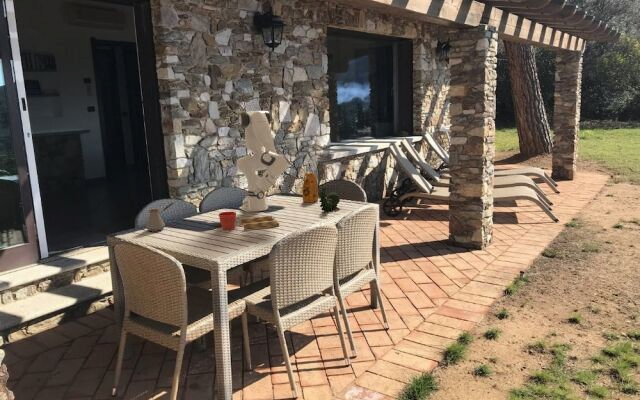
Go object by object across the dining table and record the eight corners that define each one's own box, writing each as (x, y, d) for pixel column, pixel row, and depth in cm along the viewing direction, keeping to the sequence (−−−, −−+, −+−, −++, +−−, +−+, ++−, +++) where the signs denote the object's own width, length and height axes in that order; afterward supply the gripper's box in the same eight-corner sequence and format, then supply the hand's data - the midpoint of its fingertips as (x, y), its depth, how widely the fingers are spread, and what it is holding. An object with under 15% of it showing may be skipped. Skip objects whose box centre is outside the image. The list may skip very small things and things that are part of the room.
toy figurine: (329, 215, 336) (344, 205, 358) (327, 188, 331) (342, 179, 352) (317, 215, 341) (332, 204, 362) (314, 188, 335) (330, 179, 357)
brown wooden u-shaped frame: (274, 220, 324) (273, 215, 323) (279, 226, 308) (278, 220, 307) (241, 223, 318) (240, 218, 318) (244, 230, 302) (243, 224, 302)
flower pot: (240, 226, 311) (239, 211, 309) (232, 231, 301) (230, 215, 299) (225, 226, 315) (224, 211, 313) (216, 230, 305) (215, 215, 303)
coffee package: (300, 202, 377) (299, 173, 373) (309, 199, 388) (307, 171, 383) (311, 203, 372) (310, 174, 368) (320, 200, 383) (318, 171, 378)
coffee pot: (153, 233, 304) (151, 209, 301) (142, 231, 311) (139, 207, 308) (181, 225, 321) (179, 202, 318) (170, 223, 328) (168, 201, 325)
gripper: (263, 171, 318) (248, 187, 318) (268, 176, 299) (253, 193, 299) (270, 177, 320) (256, 193, 320) (276, 183, 301) (261, 200, 301)
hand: (254, 194), depth 309 cm, fingers closed
